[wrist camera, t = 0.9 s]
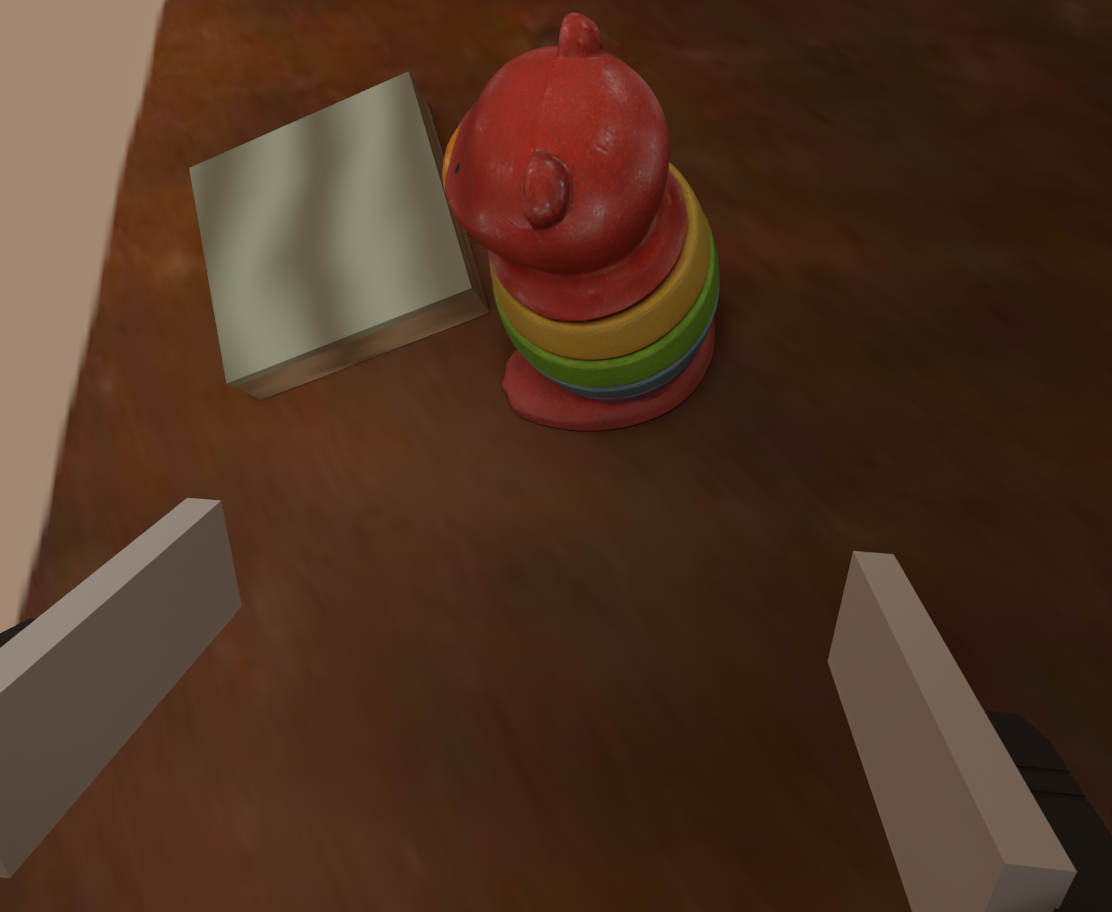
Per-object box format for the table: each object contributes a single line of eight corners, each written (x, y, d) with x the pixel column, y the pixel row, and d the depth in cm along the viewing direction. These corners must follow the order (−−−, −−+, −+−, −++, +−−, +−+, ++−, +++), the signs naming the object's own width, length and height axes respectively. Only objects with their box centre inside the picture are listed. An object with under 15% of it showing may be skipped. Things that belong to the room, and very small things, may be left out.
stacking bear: (559, 227, 39) (436, -78, 22) (745, 262, 36) (769, -56, 19) (495, 413, 37) (309, 238, 20) (685, 464, 34) (653, 312, 18)
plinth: (429, 108, 42) (408, 71, 40) (490, 312, 39) (471, 287, 36) (223, 197, 44) (189, 168, 41) (261, 400, 40) (226, 383, 38)
